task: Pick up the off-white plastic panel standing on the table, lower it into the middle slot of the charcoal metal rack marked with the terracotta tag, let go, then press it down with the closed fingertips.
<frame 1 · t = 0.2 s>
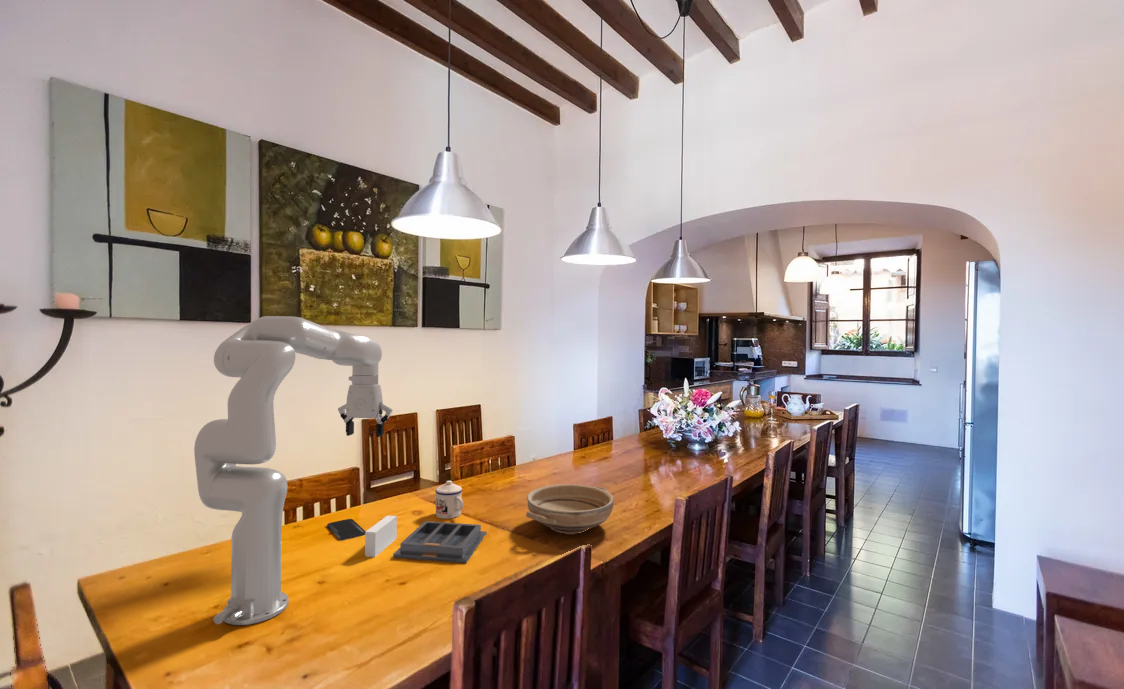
hand: (364, 435, 155), 30 cm above the table, tool pointing down, fingers open, 9 cm apart
phone: (345, 531, 158), on the table
teacup with lid: (451, 516, 172), on the table
panel: (381, 547, 145), on the table
ceramic bowl: (569, 527, 164), on the table
rack: (442, 545, 147), on the table
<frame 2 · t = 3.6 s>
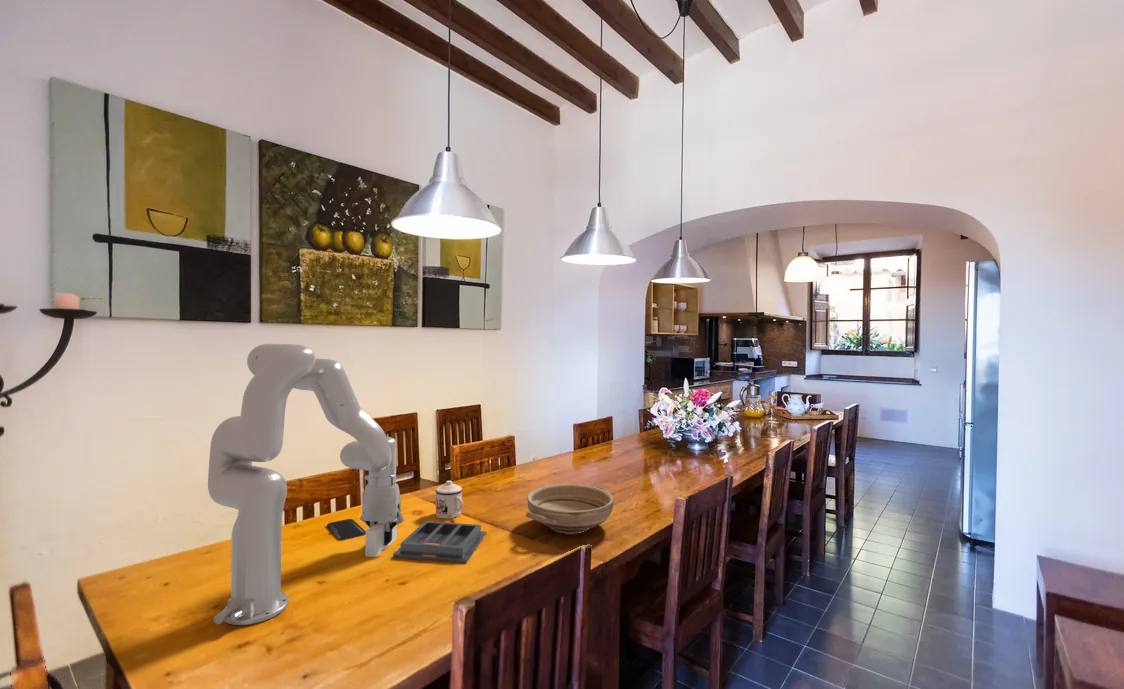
hand: (381, 542, 146), 1 cm above the table, tool pointing down, fingers closed on panel, 2 cm apart
panel: (381, 546, 146), on the table, touching gripper
everything else where it was.
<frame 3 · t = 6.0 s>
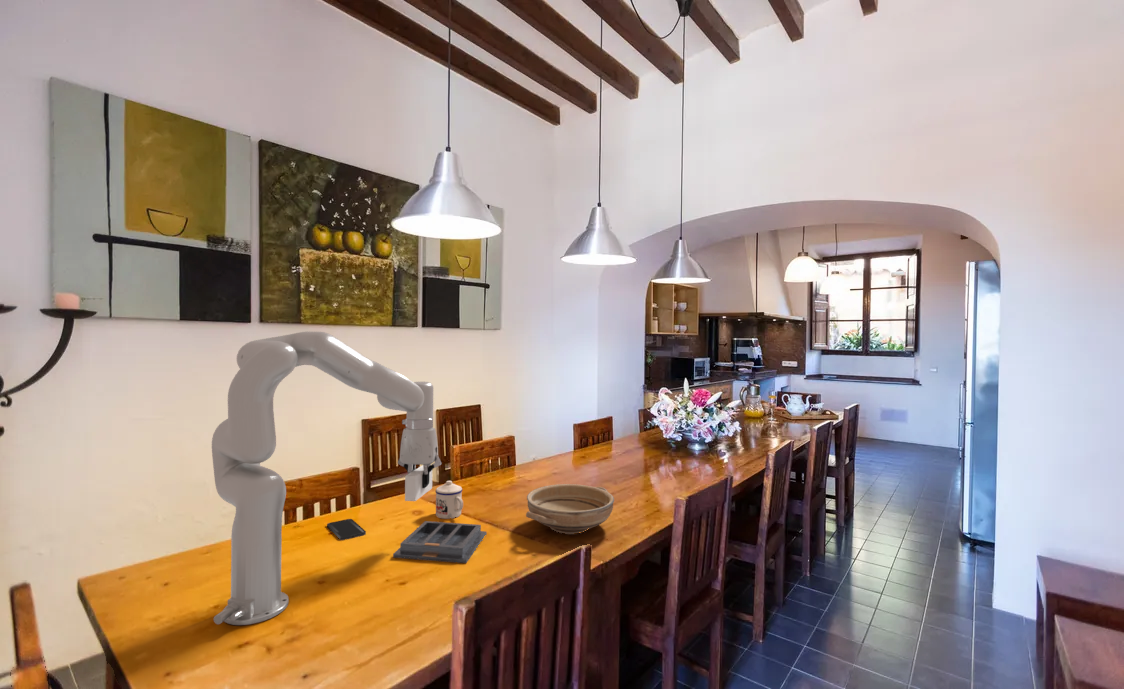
hand: (419, 485, 147), 18 cm above the table, tool pointing down, fingers closed on panel, 2 cm apart
panel: (419, 494, 147), point 15 cm above the table, touching gripper
everything else where it was.
when the fingers open (4 cm above the table, at t = 8.5 s): panel drops 1 cm, resting on rack.
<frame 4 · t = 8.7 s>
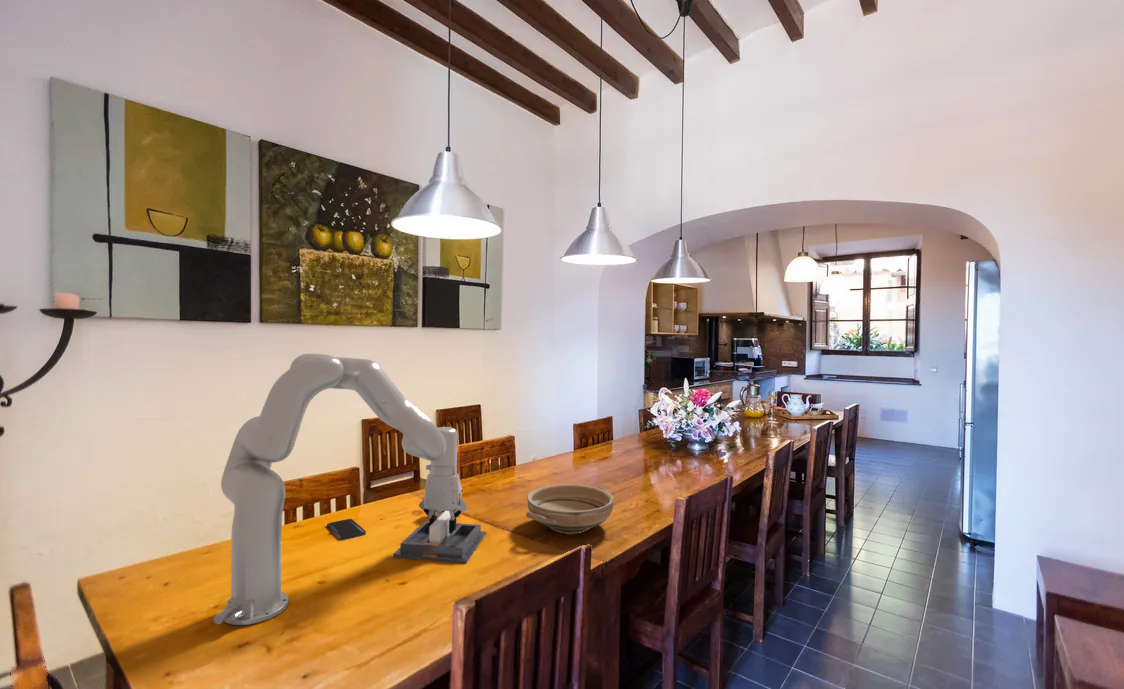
hand: (442, 530, 147), 4 cm above the table, tool pointing down, fingers open, 4 cm apart
panel: (442, 542, 147), point 1 cm above the table, touching rack
everything else where it was.
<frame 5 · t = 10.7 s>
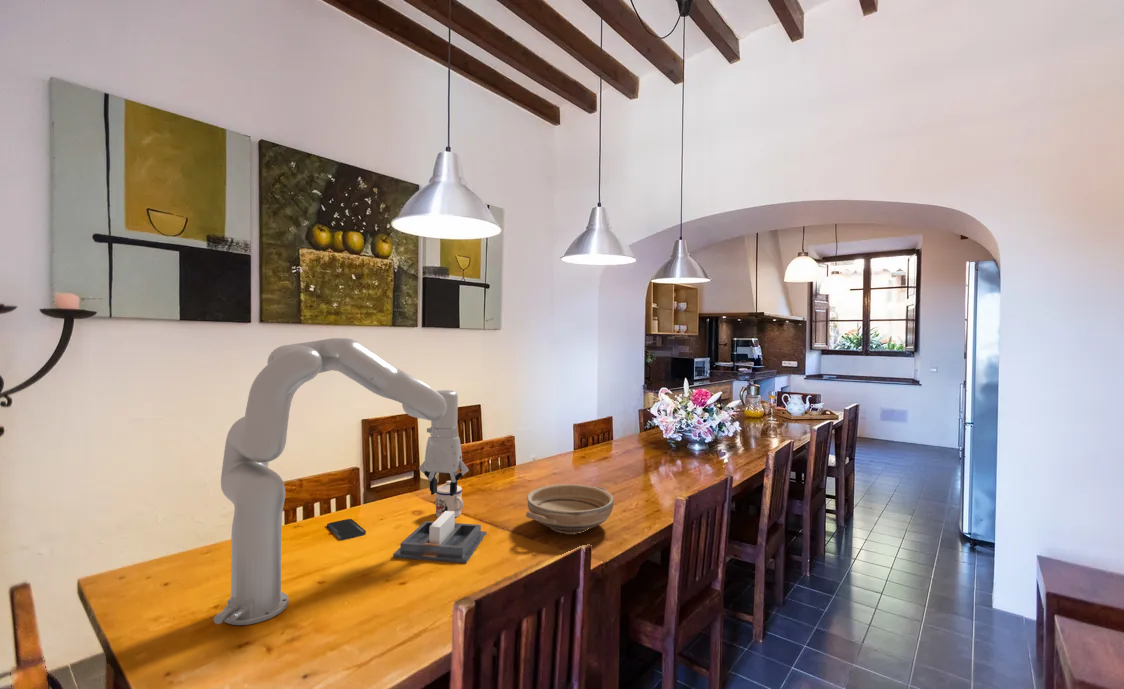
hand: (443, 493, 147), 15 cm above the table, tool pointing down, fingers open, 5 cm apart
nothing on the table moved.
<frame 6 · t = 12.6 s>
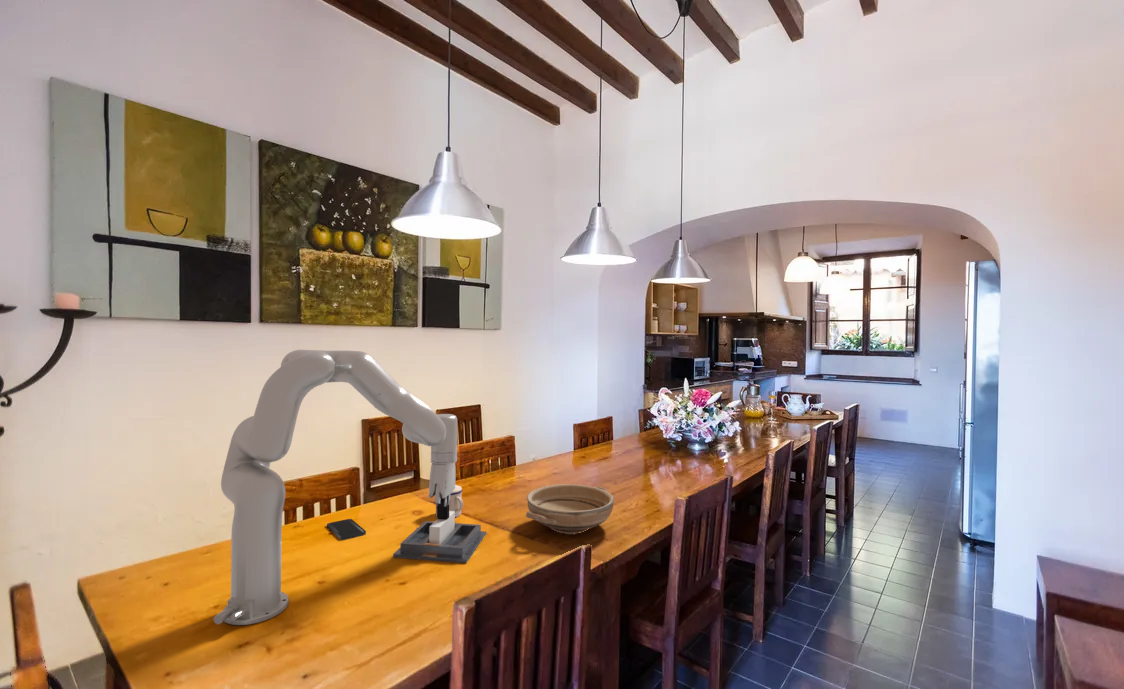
hand: (443, 518, 147), 8 cm above the table, tool pointing down, fingers closed
panel: (442, 542, 147), point 1 cm above the table, touching gripper, rack
everything else where it was.
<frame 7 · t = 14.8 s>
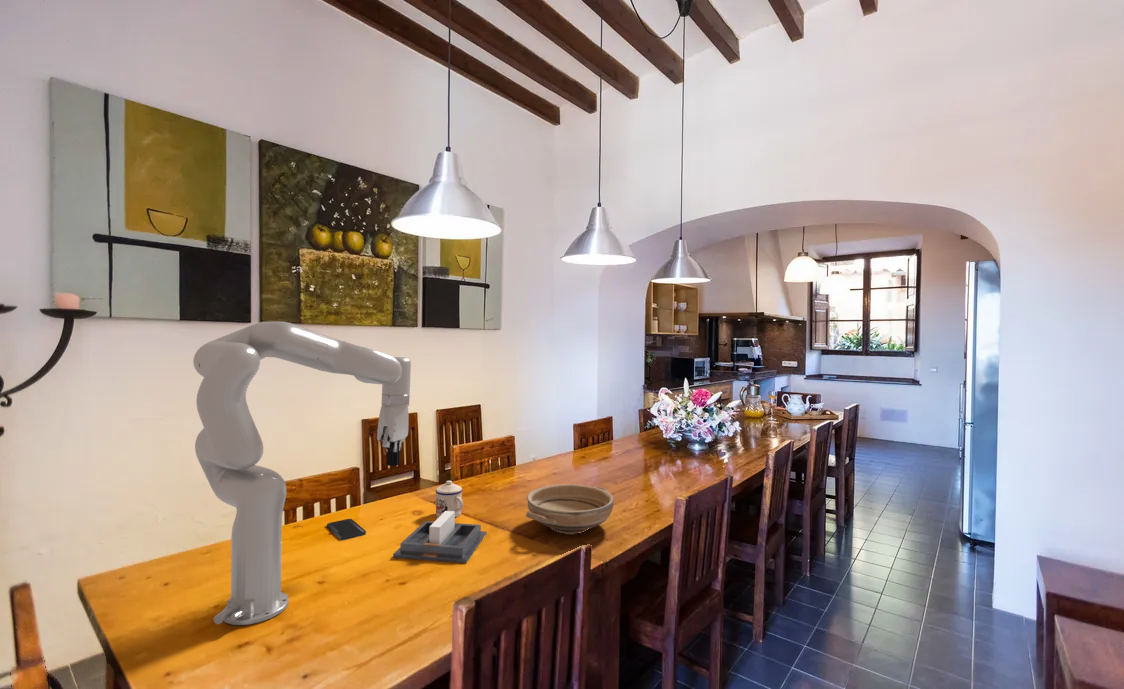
hand: (392, 465, 142), 25 cm above the table, tool pointing down, fingers closed
panel: (442, 542, 147), point 1 cm above the table, touching rack
everything else where it was.
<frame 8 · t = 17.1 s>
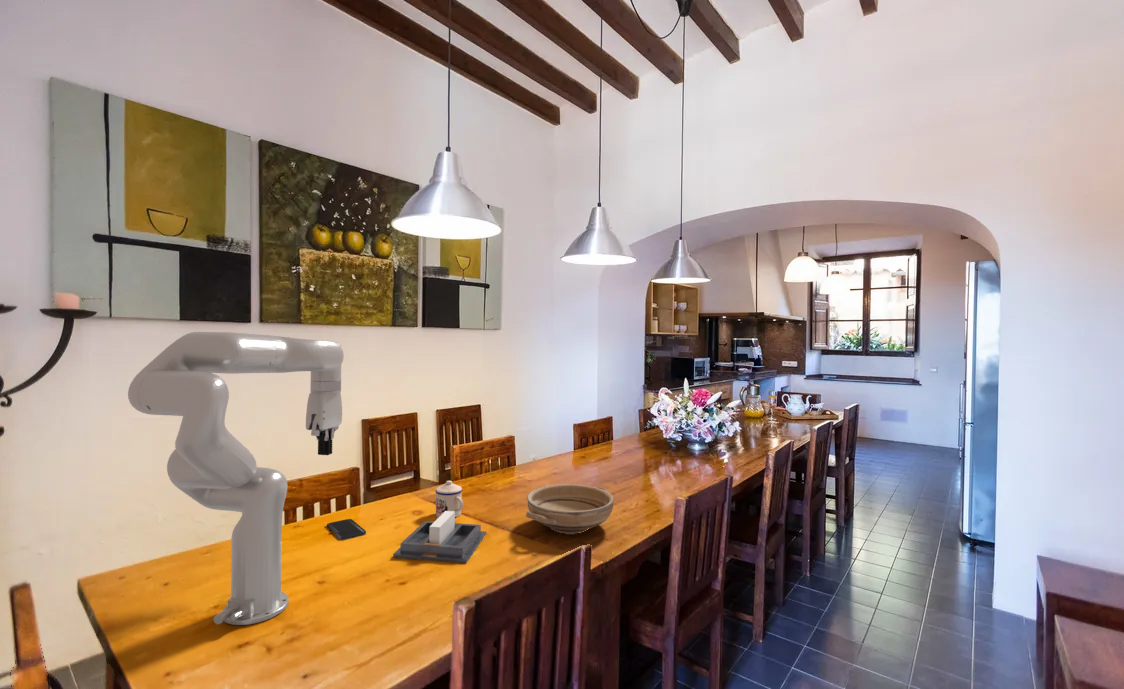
hand: (325, 454, 136), 29 cm above the table, tool pointing down, fingers closed
nothing on the table moved.
at the end: panel 0.1 cm off-centre on the rack, point 1.0 cm above the rack's base; panel tilted 0°; the gripper is holding nothing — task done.
